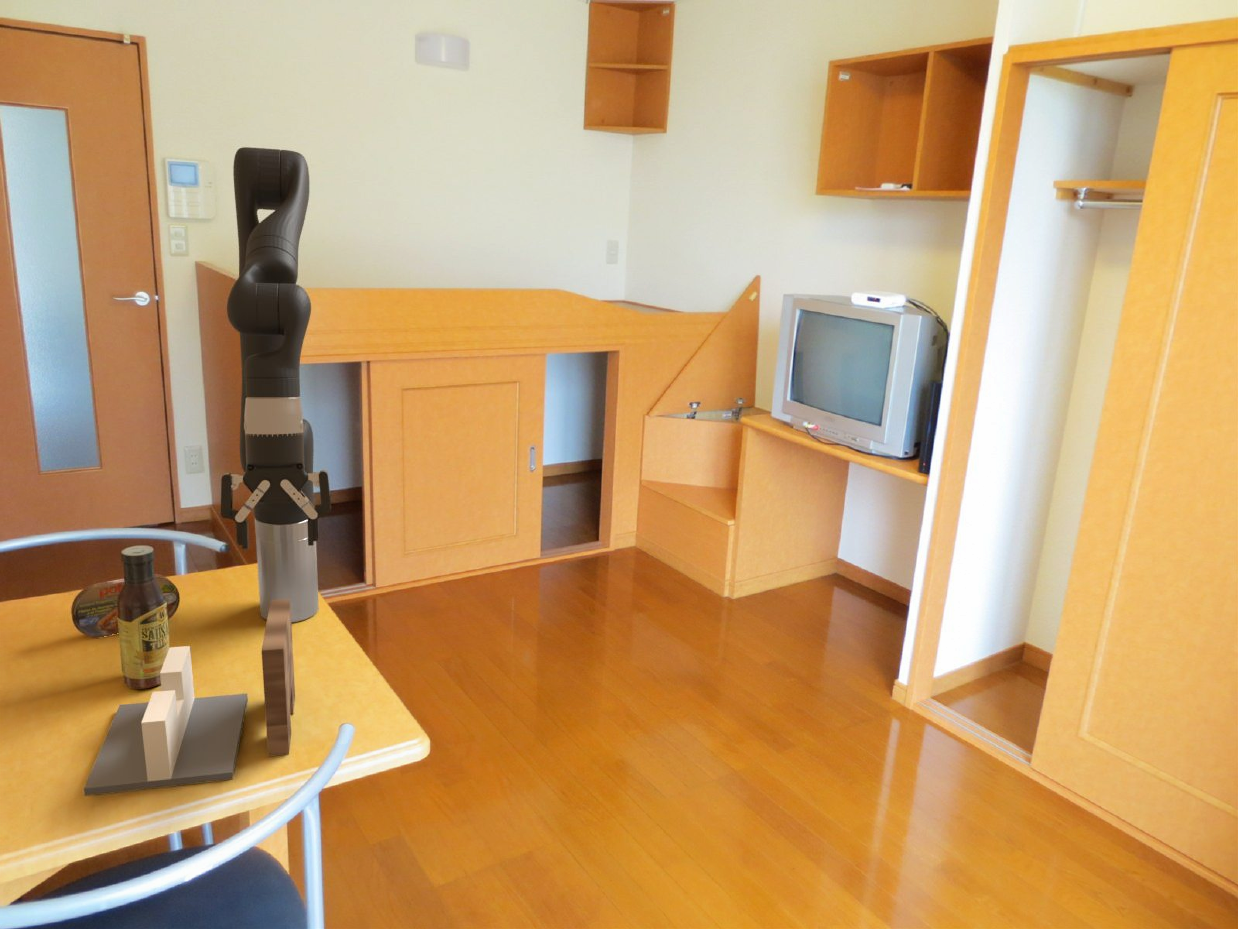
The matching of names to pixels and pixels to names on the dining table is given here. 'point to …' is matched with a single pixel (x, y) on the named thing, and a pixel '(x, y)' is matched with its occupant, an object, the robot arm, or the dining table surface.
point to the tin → (111, 606)
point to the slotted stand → (170, 736)
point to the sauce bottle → (141, 620)
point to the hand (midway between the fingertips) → (278, 546)
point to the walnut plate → (278, 677)
